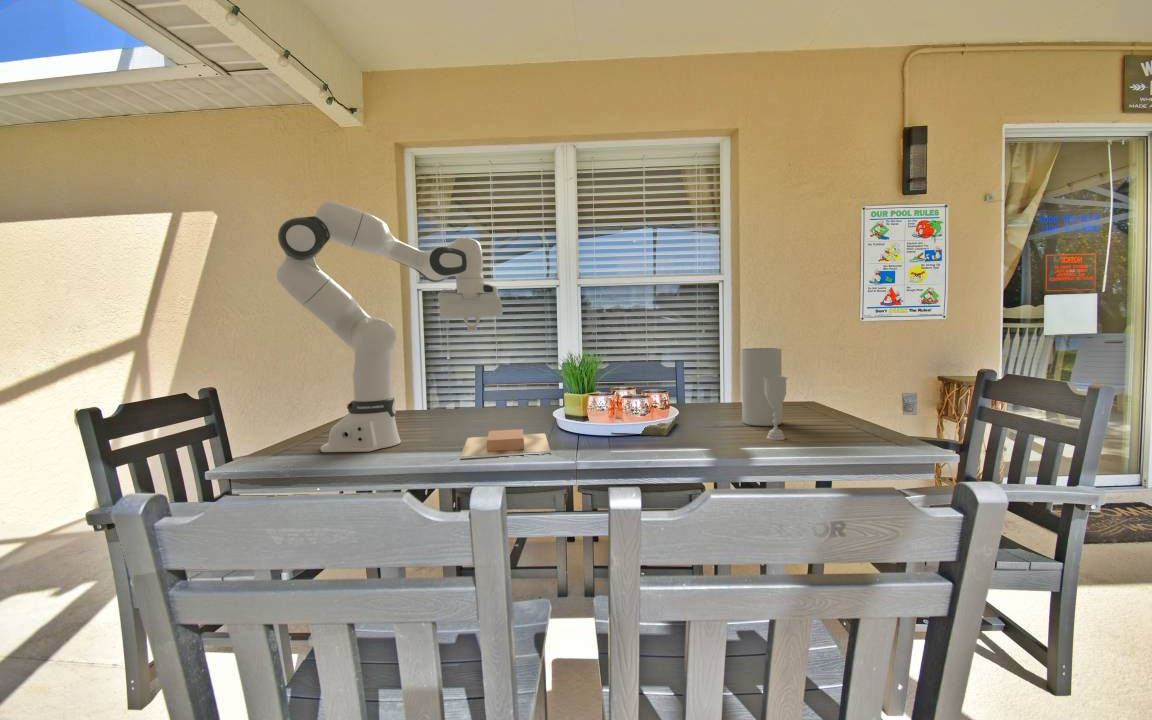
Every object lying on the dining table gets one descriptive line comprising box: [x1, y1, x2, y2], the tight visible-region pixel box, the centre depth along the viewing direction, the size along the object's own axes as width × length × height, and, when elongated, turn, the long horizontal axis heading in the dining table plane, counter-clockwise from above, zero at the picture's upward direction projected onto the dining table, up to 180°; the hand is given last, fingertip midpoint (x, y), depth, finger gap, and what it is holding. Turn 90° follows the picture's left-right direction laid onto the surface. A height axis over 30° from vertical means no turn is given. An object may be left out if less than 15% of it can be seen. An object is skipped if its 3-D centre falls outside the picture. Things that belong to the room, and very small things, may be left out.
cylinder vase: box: [740, 347, 783, 427], centre depth 169 cm, size 12×12×25 cm
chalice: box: [763, 375, 789, 441], centre depth 147 cm, size 7×7×18 cm
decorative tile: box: [640, 417, 676, 437], centre depth 168 cm, size 19×20×4 cm
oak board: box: [459, 433, 551, 461], centre depth 147 cm, size 24×24×1 cm
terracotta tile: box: [487, 428, 524, 451], centre depth 145 cm, size 10×3×13 cm
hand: (472, 331), depth 166 cm, fingers closed
